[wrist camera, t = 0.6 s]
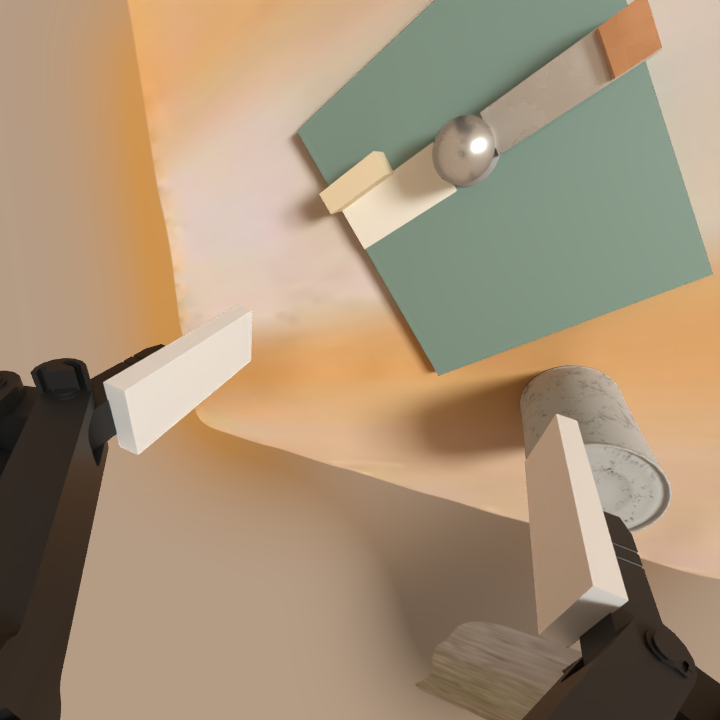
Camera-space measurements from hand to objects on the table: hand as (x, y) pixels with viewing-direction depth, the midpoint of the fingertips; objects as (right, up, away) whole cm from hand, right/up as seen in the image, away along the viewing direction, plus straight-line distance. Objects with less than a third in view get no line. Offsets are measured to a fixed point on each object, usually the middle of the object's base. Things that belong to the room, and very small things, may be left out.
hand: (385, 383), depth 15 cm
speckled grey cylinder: (+21, -4, +23) cm, 32 cm away
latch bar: (+12, +20, +12) cm, 26 cm away
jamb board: (+10, +15, +17) cm, 25 cm away
